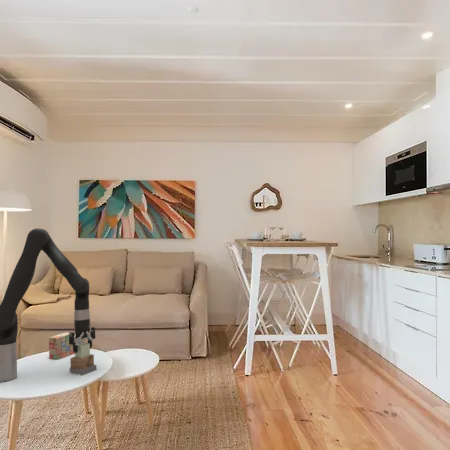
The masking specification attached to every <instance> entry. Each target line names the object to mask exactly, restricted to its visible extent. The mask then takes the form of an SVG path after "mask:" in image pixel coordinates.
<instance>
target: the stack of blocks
mask: <svg viewBox="0 0 450 450" xmlns="http://www.w3.org/2000/svg"><path fill="white" fill-rule="evenodd" d="M69 333H70V332H65V331H64V332H62V333H59V334H56V335H53V336H49V337H48V351H49V352H48V355H49V356H48V358H49V360H55V361H56V360H57V361H59V360H62V359H65V358H66V357H70V356H72V355H75V353H74V352H73V345H71V344H69ZM75 336H76V335H75ZM75 336H74V338H75ZM77 339H78V338H77ZM80 343H86V338H83V339H81V340H80V341H79V342H78V344H80Z"/></svg>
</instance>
